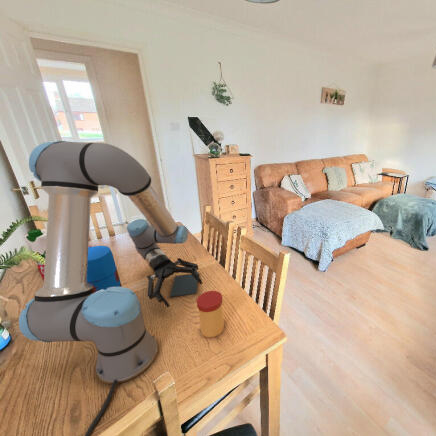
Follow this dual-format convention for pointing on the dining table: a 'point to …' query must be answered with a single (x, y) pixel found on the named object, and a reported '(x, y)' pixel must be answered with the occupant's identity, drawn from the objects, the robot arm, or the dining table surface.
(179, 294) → the mat
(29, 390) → the dining table surface
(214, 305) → the jam lid
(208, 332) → the jam jar
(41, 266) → the soda can
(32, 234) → the milk carton
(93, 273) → the thermos
